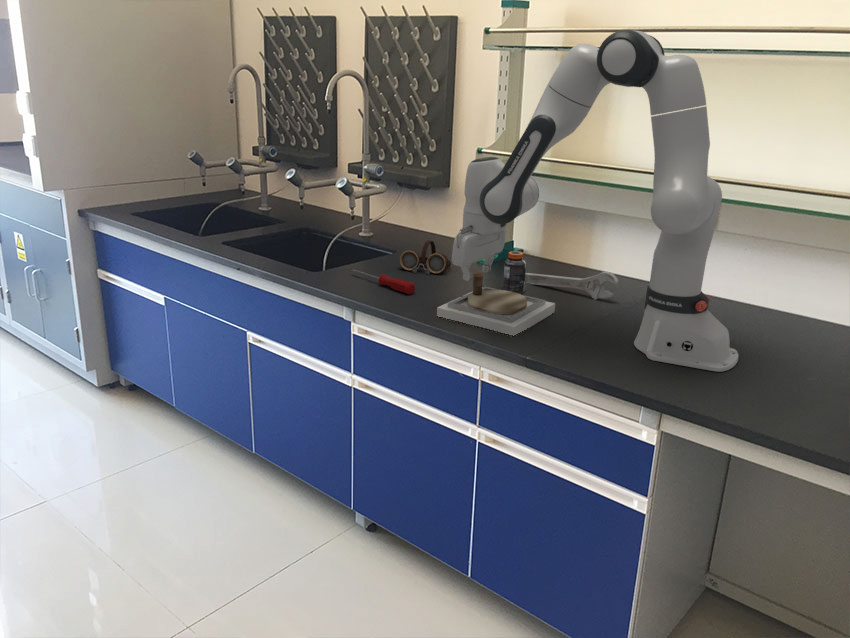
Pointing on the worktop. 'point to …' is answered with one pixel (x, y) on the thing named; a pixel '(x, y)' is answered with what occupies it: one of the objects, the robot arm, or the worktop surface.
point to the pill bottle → (514, 272)
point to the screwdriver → (394, 283)
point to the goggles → (425, 260)
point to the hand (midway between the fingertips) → (476, 275)
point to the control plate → (497, 322)
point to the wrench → (577, 283)
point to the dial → (495, 299)
